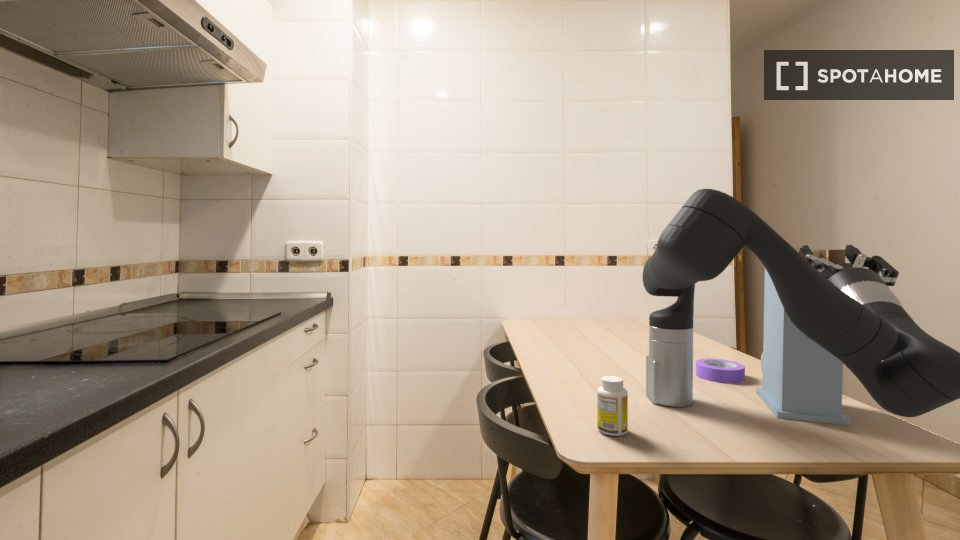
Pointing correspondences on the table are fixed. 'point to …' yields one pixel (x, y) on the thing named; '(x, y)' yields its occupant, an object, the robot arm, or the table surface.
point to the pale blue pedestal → (797, 369)
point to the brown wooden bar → (830, 255)
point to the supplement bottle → (612, 406)
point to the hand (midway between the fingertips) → (825, 249)
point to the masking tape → (720, 370)
